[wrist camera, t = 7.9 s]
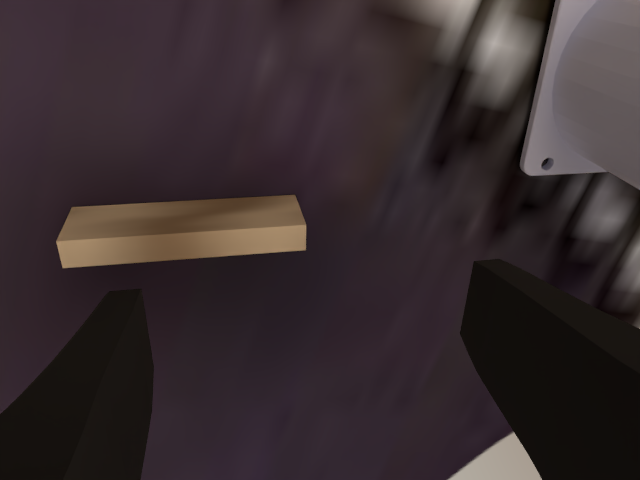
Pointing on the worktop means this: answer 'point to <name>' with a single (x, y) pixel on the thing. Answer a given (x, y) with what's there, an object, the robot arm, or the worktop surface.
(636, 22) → the robot arm
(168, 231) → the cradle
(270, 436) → the worktop surface
